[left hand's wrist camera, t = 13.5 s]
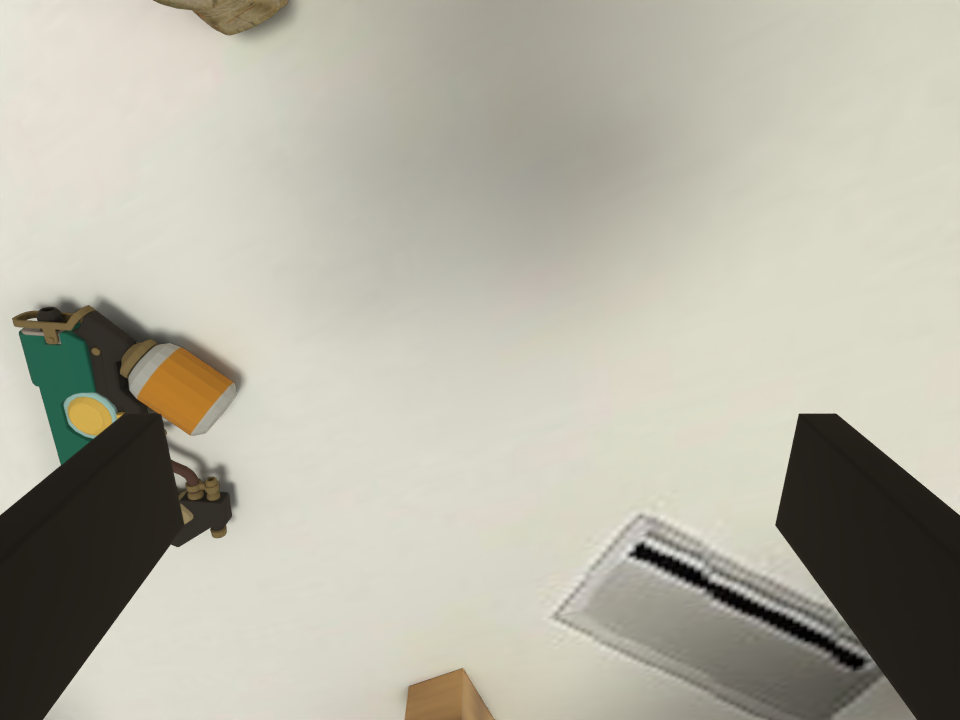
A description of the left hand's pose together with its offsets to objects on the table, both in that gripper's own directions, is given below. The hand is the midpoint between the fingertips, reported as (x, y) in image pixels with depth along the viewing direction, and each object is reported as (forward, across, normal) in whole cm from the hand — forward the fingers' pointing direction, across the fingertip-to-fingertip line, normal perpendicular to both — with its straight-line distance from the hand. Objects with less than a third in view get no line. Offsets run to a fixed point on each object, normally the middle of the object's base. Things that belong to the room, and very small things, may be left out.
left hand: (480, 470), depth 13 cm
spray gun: (+27, -23, -13) cm, 38 cm away
